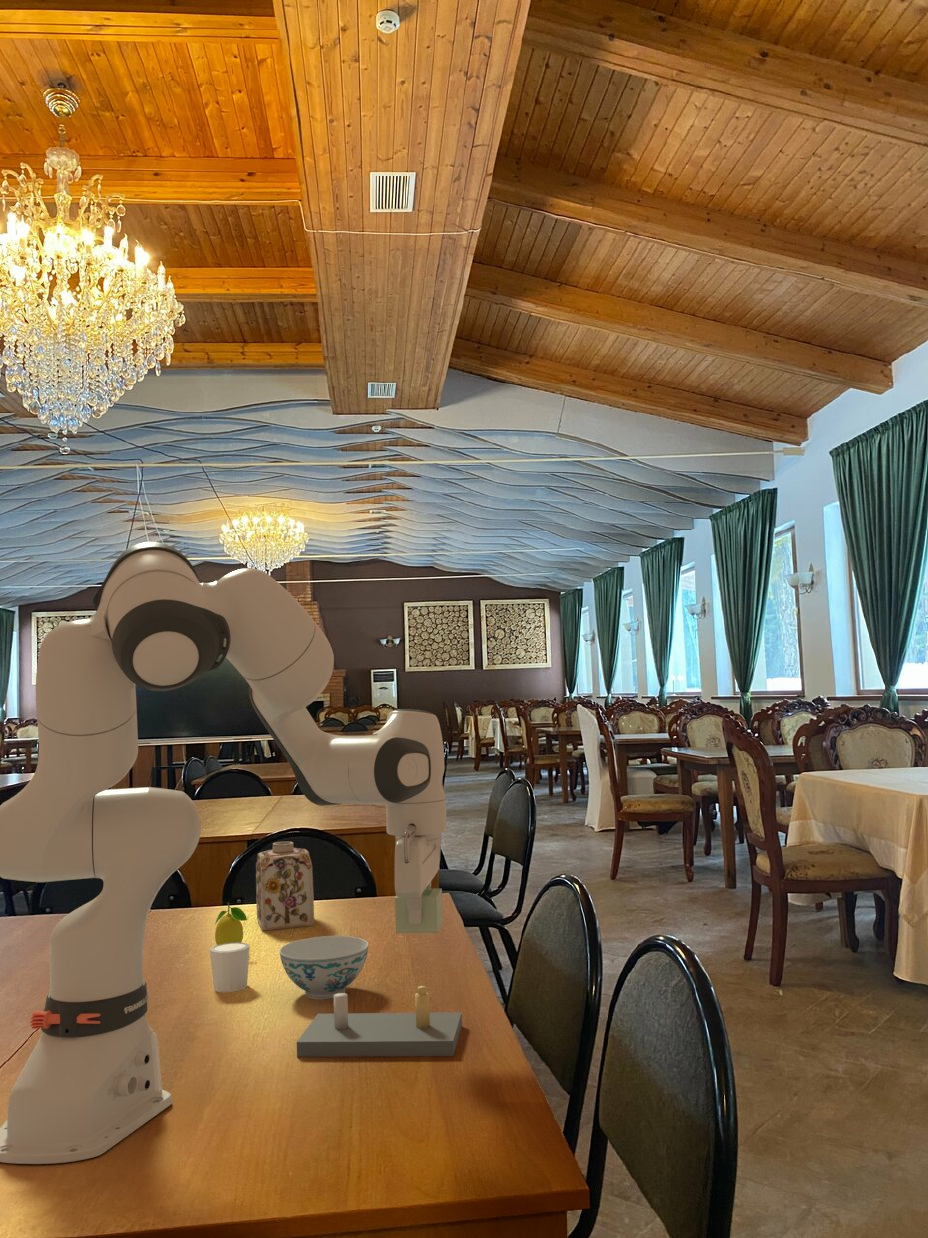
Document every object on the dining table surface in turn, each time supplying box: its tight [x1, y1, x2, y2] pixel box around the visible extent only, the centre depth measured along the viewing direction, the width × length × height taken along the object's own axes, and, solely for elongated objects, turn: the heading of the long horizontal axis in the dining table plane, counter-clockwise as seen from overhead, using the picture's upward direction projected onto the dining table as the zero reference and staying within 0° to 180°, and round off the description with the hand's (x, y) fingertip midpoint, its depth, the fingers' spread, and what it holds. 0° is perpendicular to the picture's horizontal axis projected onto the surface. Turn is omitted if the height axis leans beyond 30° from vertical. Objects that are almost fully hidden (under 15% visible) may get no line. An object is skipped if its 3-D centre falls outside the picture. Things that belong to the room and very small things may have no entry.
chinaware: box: [279, 935, 369, 1000], centre depth 163 cm, size 15×15×8 cm
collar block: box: [394, 887, 444, 934], centre depth 139 cm, size 6×6×5 cm
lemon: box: [214, 902, 248, 945], centre depth 192 cm, size 7×6×10 cm
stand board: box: [296, 985, 463, 1058], centre depth 139 cm, size 12×22×8 cm, turn 85°
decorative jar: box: [255, 841, 315, 932], centre depth 217 cm, size 12×12×18 cm
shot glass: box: [209, 942, 251, 993], centre depth 169 cm, size 7×7×7 cm
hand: (419, 916), depth 139 cm, fingers closed on collar block, 6 cm apart
